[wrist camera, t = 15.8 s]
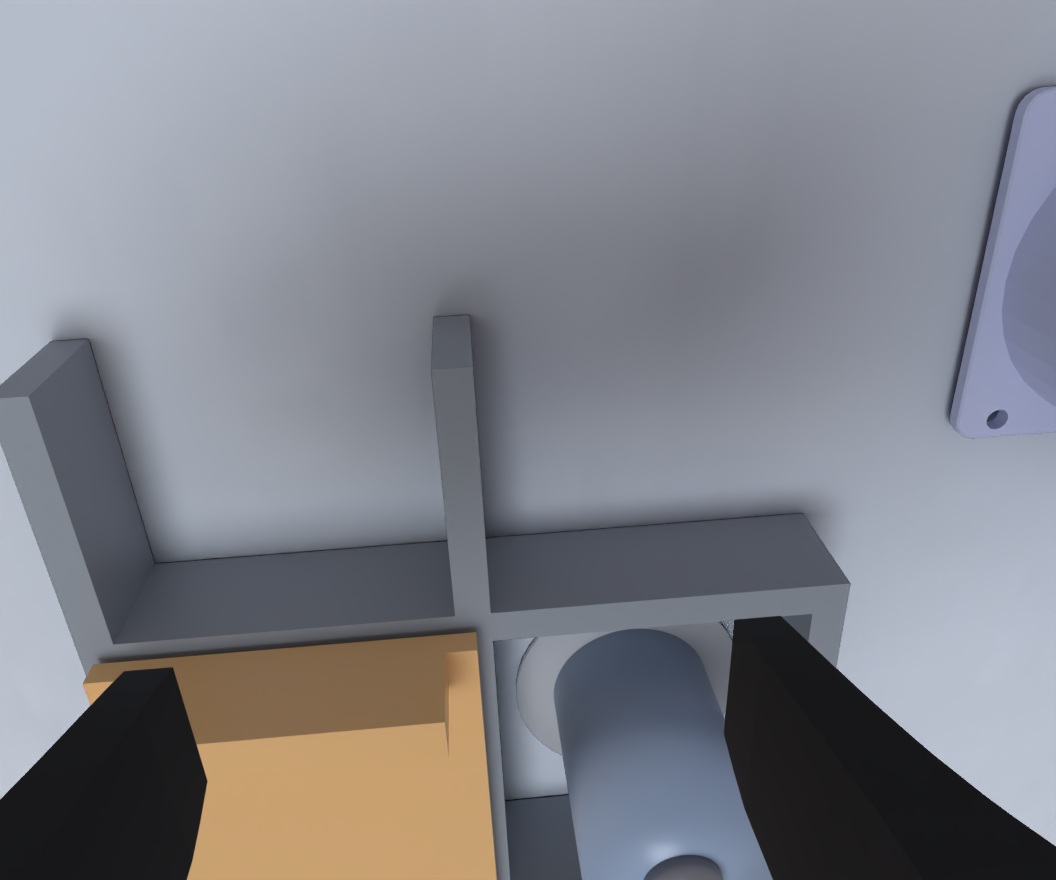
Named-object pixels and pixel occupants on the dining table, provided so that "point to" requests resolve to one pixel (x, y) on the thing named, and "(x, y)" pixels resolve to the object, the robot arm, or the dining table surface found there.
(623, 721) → the blue-grey cylinder
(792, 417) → the dining table surface
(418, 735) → the lid
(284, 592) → the housing
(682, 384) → the dining table surface
